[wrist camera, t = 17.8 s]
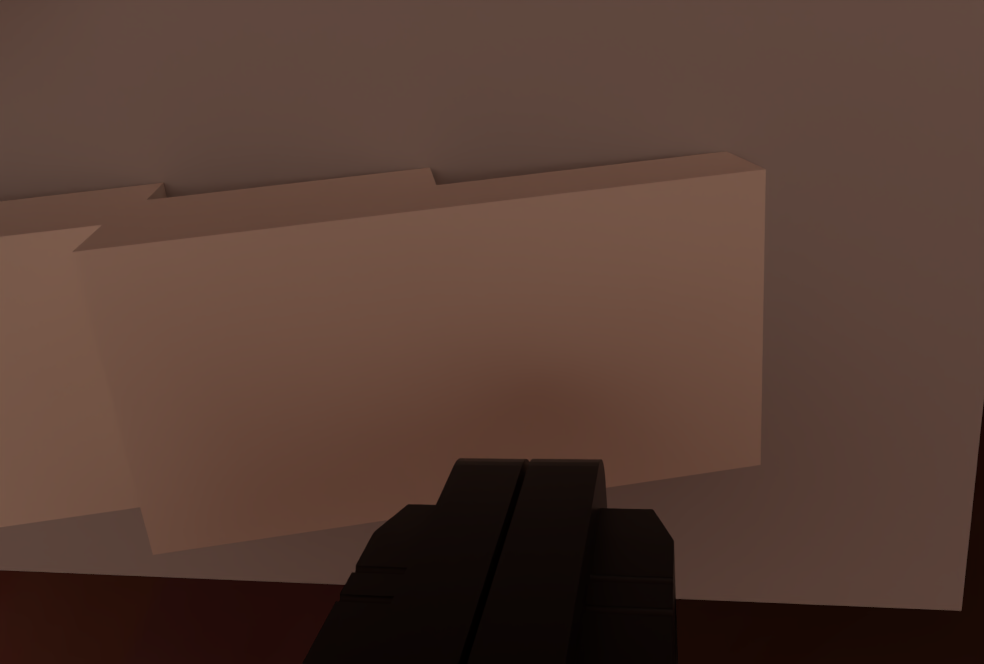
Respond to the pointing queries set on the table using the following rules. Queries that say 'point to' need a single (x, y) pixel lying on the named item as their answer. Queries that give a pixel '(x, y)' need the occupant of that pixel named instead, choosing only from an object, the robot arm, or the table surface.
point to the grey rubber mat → (581, 144)
